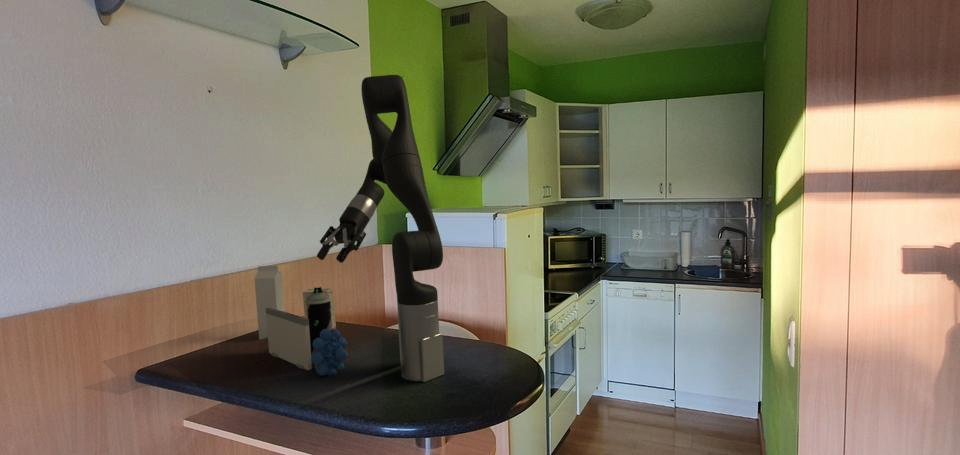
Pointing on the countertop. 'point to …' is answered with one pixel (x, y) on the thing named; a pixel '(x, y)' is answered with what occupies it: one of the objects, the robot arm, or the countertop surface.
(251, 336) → the countertop surface
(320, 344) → the grapes
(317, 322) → the spray can
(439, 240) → the robot arm
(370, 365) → the countertop surface
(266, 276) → the milk
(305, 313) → the supplement box
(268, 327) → the cream thin rectangular board
